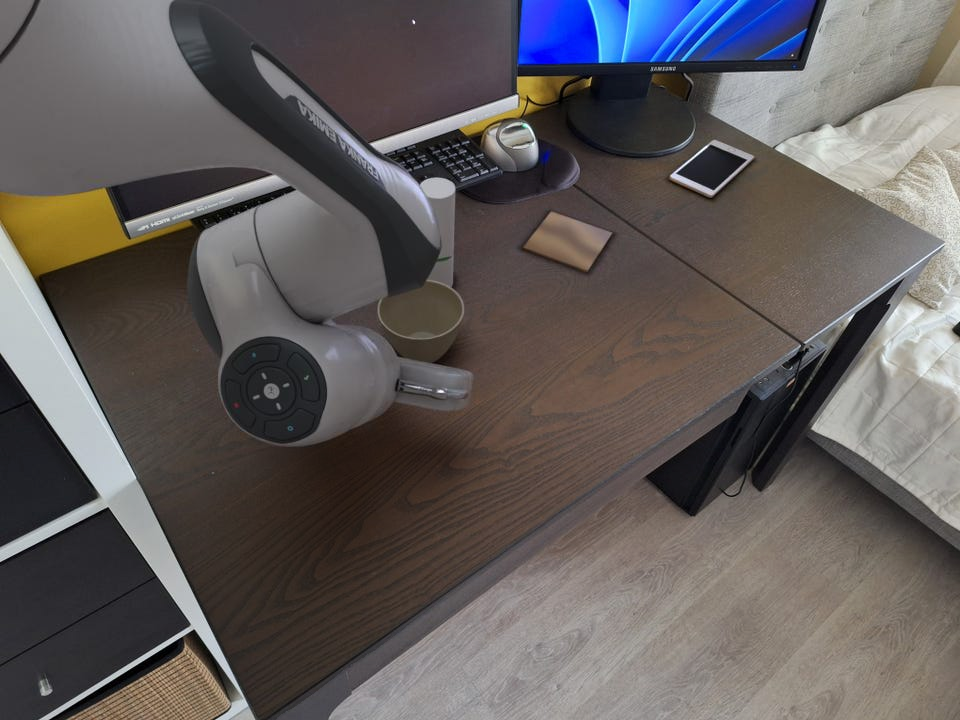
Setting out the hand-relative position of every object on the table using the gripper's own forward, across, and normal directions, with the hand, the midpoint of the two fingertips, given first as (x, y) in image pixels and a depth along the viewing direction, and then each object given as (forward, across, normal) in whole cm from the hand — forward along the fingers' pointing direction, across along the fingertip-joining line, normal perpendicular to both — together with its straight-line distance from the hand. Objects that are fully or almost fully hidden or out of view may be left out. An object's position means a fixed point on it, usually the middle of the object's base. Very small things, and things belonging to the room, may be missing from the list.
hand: (386, 367), depth 72 cm
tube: (+20, 0, -11) cm, 22 cm away
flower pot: (+11, -1, -2) cm, 11 cm away
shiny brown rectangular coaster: (+29, -16, -21) cm, 39 cm away
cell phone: (+47, -38, -39) cm, 72 cm away
